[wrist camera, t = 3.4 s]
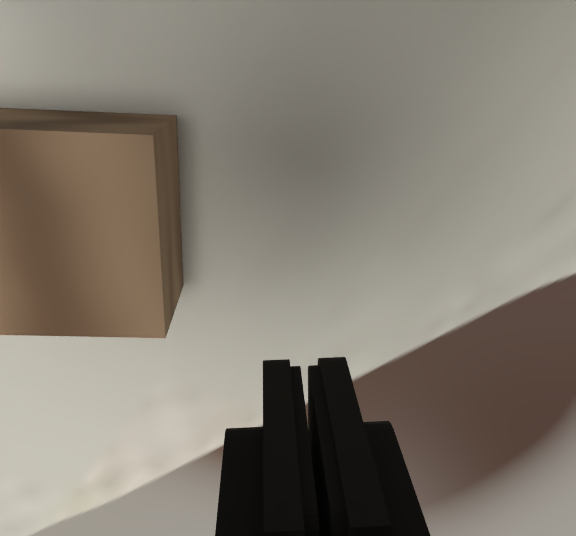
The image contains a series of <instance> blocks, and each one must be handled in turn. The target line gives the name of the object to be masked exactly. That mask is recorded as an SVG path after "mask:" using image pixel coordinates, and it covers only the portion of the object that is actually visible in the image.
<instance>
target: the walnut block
mask: <svg viewBox="0 0 576 536" xmlns="http://www.w3.org/2000/svg"><path fill="white" fill-rule="evenodd" d="M182 288H183V264H182V240H181V216H180V192H179V168H178V145H177V121H176V115H153V114H130V113H106V112H83V111H60V110H36V109H13V108H0V335H39V336H90V337H141V338H166V335H167V332H168V329H169V326H170V323H171V320H172V317H173V314H174V311H175V309H176V306H177V303H178V300H179V297H180V294H181V291H182Z"/></svg>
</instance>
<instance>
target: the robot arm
mask: <svg viewBox="0 0 576 536" xmlns="http://www.w3.org/2000/svg"><path fill="white" fill-rule="evenodd" d="M215 536H430V533H429V531H428V528H427V525H426V522H425V519H424V516H423V513H422V510H421V507H420V505H419V502H418V499H417V496H416V493H415V490H414V487H413V484H412V481H411V478H410V476H409V473H408V470H407V467H406V464H405V461H404V458H403V455H402V453H401V450H400V447H399V444H398V441H397V438H396V435H395V432H394V429H393V427H392V425H391V423H390V422H389V421H379V422H363V420H362V416H361V412H360V409H359V405H358V401H357V398H356V394H355V390H354V387H353V383H352V379H351V375H350V372H349V368H348V364H347V361H346V358H345V357H335V358H318V365H315V366H308V426H307V417H306V409H305V401H304V393H303V384H302V376H301V368H300V366H292V367H290V360H289V359H288V360H264V361H263V427H250V428H229V429H226V431H225V439H224V450H223V460H222V471H221V481H220V492H219V502H218V512H217V522H216V534H215Z"/></svg>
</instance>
